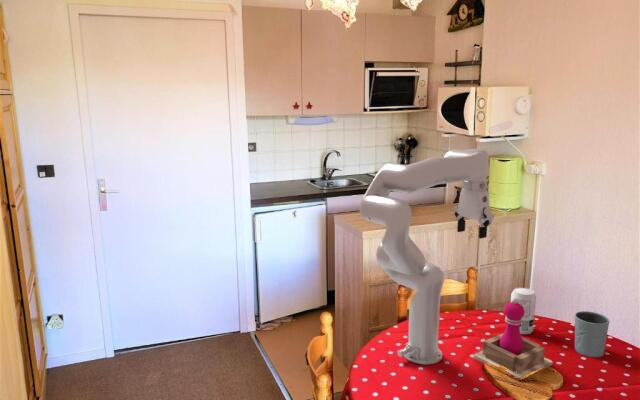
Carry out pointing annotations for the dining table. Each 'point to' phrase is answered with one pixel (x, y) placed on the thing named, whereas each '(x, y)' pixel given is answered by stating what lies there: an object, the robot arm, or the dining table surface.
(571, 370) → the dining table surface
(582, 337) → the grey cylindrical pot
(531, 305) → the supplement can
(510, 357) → the stand
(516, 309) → the pepper mill
